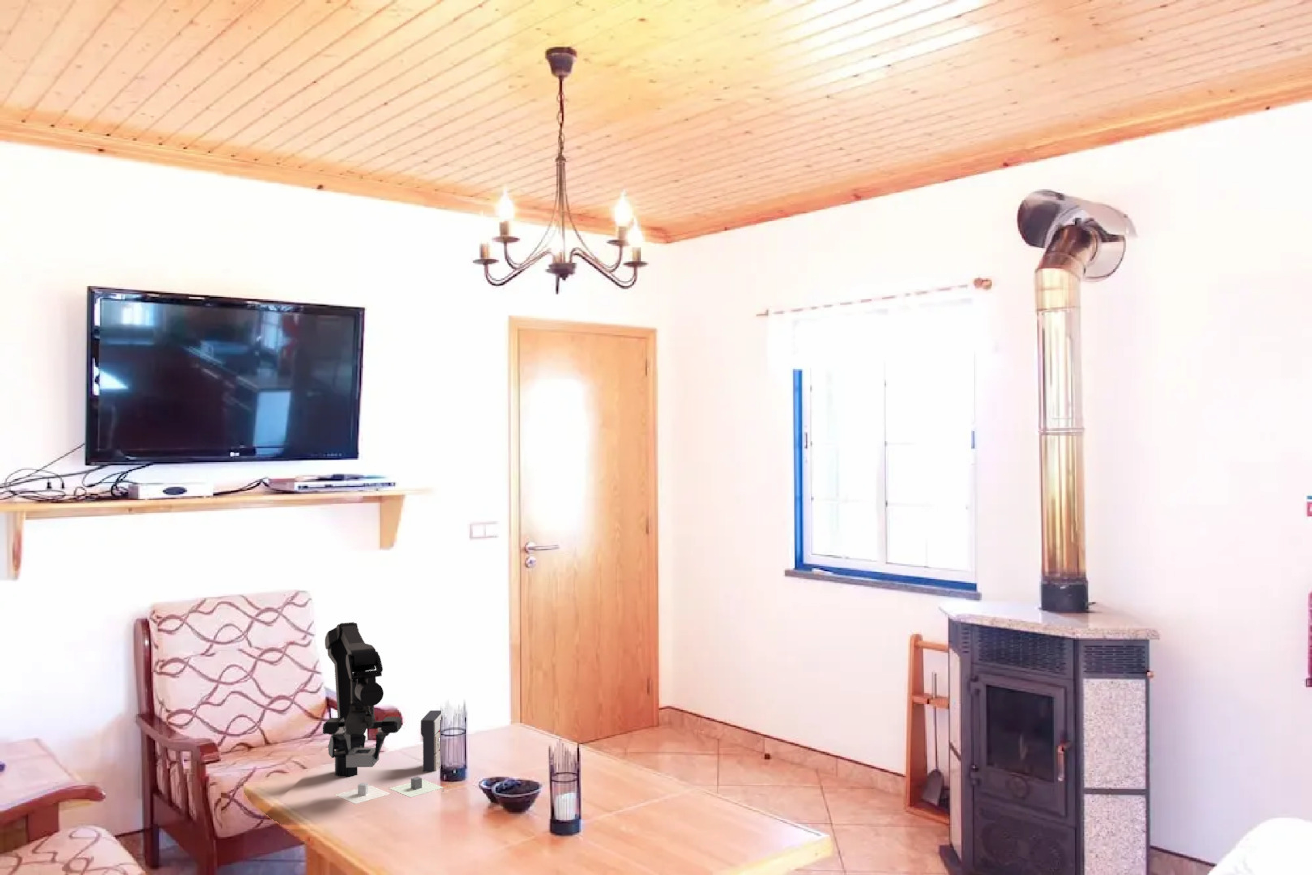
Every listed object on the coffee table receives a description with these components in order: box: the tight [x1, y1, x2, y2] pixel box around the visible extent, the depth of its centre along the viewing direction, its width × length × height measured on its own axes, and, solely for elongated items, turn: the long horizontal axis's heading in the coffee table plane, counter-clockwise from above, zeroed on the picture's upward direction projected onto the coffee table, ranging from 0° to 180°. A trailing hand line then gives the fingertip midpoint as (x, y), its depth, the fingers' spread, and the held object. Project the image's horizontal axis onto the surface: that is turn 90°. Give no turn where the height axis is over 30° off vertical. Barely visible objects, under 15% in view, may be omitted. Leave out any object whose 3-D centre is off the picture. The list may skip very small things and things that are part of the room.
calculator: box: [420, 709, 441, 773], centre depth 282 cm, size 11×4×15 cm, turn 179°
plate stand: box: [335, 782, 391, 805], centre depth 258 cm, size 10×10×4 cm
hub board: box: [388, 776, 445, 798], centre depth 263 cm, size 10×10×4 cm
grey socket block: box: [346, 747, 380, 768], centre depth 258 cm, size 7×7×3 cm
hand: (362, 759), depth 259 cm, fingers closed on grey socket block, 7 cm apart
